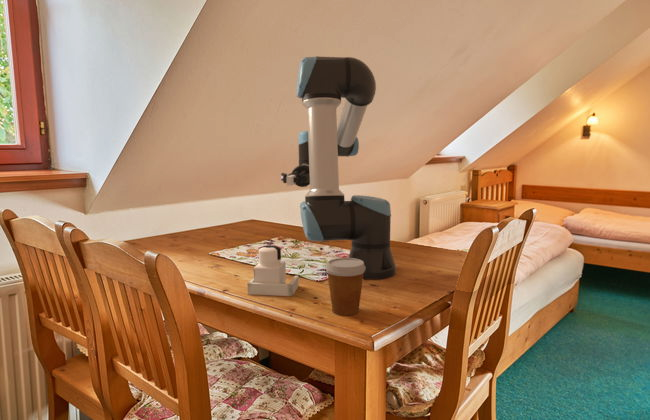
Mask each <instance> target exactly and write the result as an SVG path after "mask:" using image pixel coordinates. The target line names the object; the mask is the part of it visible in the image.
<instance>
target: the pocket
mask: <svg viewBox="0 0 650 420" xmlns="http://www.w3.org/2000/svg"><path fill="white" fill-rule="evenodd" d="M299 281H300V277H299V275H294V276H293V278H292V279H291V281H290V282H289V283H286V284H279V283H254V276H252V278H251V279H250V280H249V281H248V282H247V286H246V287H247V295H252V296H253V295H254V296H255V295H256V296H257V295H258V296H276V297H277V296H279V297H293V296H294V294H295V292H296V291H297V289H298V287H299V286H300V285H299V284H300V283H299Z"/></svg>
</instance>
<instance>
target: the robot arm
mask: <svg viewBox="0 0 650 420" xmlns="http://www.w3.org/2000/svg"><path fill="white" fill-rule="evenodd" d="M376 90H377V85H376V80H375V76H374V74H373V72H372V70H371V69H370V67H369V66H368V65H367V64H366V63H365V62H364V61H362V60H361V59H358V58H356V57H351V56H348V57H344V56H343V57H338V56H336V57H335V56H317V55H316V56H304V57H303V58H302V59H301V60H300V62H299V67H298V74H297V80H296V97H297V98H299V99H301V104H302V106H303V107H304V108H305V109H306V110H307V130H303V131H302V130H301V131H299V132H298V143H297V144H298V165H297V166H296V167H294V168H293V169H292V171H291V173H289V174H288V173H285V172H281V175H280V177H281V179H280V180H281V181H282V182H283V184H286V186H293V185H295V186H297V187H300V188H307V187H308V186H309V191H308V192H307V193H306V194H305V195H304V201H302V202H301V203H300V205H299V207H300V218H301V224H302V229H303V233H304V235H305V238H306V239H307V240H308V241H311V242H322V243H323V242H330V241H331V242H332V241H333V242H335V241H351V248H350V251H349V254H348V257H347V258H355V259H359V260H362V261H363V262H364V266H365V267H366V269H365V272H364V273H363V280H382V279H389V278H391V277H393V276H395V275H396V270H397V268H396V267H397V266H396V263H395V258H394V256H393V253H392V251H391V250H392V249H391V217H392V214H391V212H392V211H391V203H390V201H389V200H387V199H385V198H381V197H378V196H377V197H376V196H369V195H360V194H359V195H357V194H354V195H352V196H351V198H350V200H345V194H344V193H343V192H342V191H341V190H340V184H339V183H340V177H339V157H348V158H349V157H355V156H357V155H358V153H359V149H360V148H359V147H360V143H359V142H360V141H359V138H358V137H357V135H358V133H359V131H360V130H359V129H360V127H361V125H362V121H363V119H364V116H365V114H366V110H367V107H368V106H369V105H370V104H371V103H373V100H374V98H375V96H376V92H377V91H376ZM343 98H344V102H343V104H342V99H343ZM341 104H342V105H343V106H342V108H341V111H340V112H341V113H340V115H339V119H338V120H337V110H338V109H337V108H338V107H339V106H340V105H341Z"/></svg>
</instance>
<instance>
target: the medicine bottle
mask: <svg viewBox="0 0 650 420" xmlns="http://www.w3.org/2000/svg"><path fill="white" fill-rule="evenodd" d="M281 249H282V248H280V246H278V245H273V244H272V245H271V244H270V245H263V246H261V247H259V248H258V250H257V253H258V255H257V256H258V263H257V264H256V265H255V266H254V267H253V277H254V283H279V284H287V276H286V275H287V271H286V269H287V267H286V261H282V251H281Z"/></svg>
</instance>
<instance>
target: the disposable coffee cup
mask: <svg viewBox="0 0 650 420" xmlns="http://www.w3.org/2000/svg"><path fill="white" fill-rule="evenodd" d="M324 268H325V270H326V273H327V279H328V280H327V281H328V286H329V287H328V288H329V294H330V302H331V311H332V313H333V314H335V315H339V316H353V315H356V314H358V313H359V312H360V311H359V309H360V303H361V295H362V289H363V287H362V286H363V280H364V279H363V273H364V272H365V269H366V267H365V266H364V262H363V261H362V260H359V259H355V258H348V257H338V258H337V257H336V258H332V259H329V260H328V261H327V263H326V266H325V267H324Z"/></svg>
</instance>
